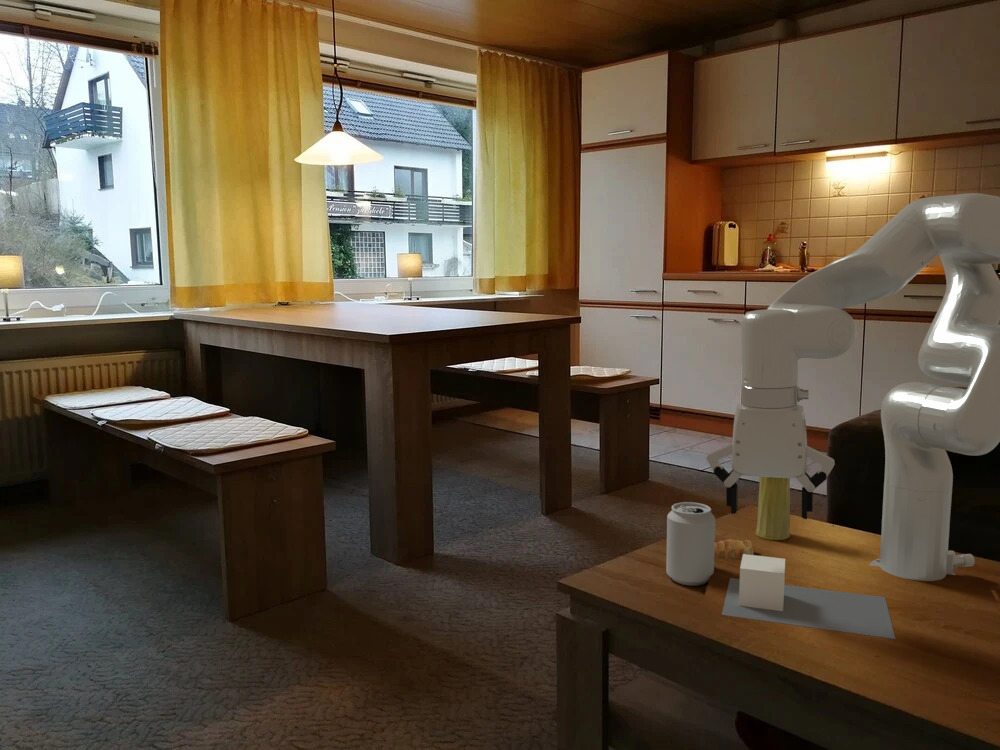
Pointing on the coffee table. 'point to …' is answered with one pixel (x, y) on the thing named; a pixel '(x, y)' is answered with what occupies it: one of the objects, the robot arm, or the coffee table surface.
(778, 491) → the vase
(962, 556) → the robot arm
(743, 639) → the coffee table surface
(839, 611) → the board
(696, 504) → the can
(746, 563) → the cream foam cube
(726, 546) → the pastry
